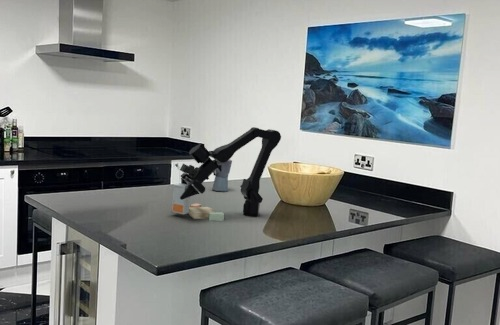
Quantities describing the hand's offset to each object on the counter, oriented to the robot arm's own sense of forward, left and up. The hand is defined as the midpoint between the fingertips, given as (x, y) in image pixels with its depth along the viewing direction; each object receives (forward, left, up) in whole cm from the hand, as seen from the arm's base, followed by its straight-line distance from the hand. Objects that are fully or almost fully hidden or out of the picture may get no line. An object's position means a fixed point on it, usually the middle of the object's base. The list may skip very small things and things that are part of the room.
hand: (178, 197), depth 204 cm
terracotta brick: (-4, -13, -8) cm, 16 cm away
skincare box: (-1, -1, -7) cm, 7 cm away
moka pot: (-1, -67, -8) cm, 67 cm away
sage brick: (-16, -2, -8) cm, 18 cm away
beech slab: (-9, -6, -8) cm, 14 cm away
